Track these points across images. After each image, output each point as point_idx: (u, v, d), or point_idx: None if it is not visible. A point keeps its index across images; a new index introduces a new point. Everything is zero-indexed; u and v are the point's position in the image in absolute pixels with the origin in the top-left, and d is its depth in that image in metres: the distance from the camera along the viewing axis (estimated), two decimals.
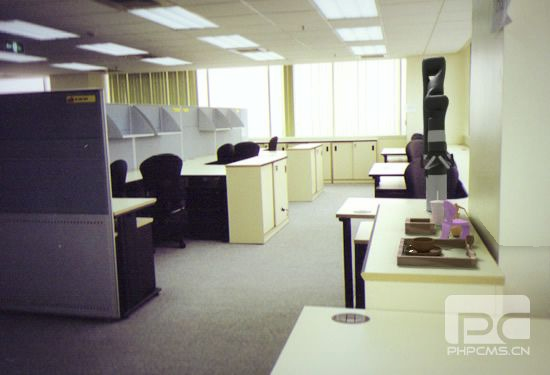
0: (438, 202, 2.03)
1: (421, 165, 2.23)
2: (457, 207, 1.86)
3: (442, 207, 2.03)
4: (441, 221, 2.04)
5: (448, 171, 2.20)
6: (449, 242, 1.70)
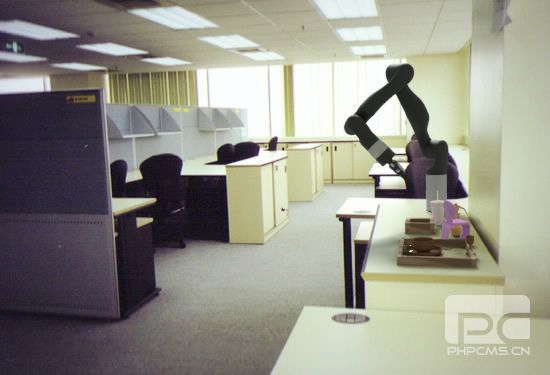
0: (438, 202, 2.03)
1: None
2: (457, 207, 1.86)
3: (442, 207, 2.03)
4: (441, 221, 2.04)
5: (403, 178, 2.03)
6: (449, 242, 1.70)
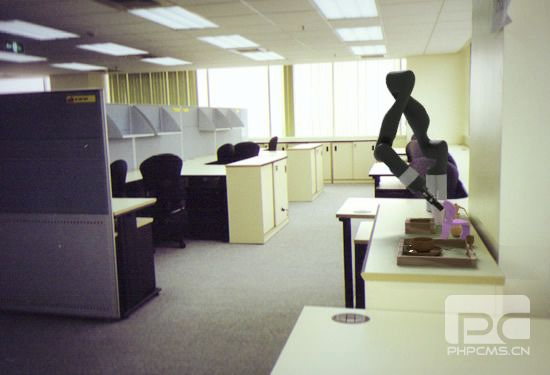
0: None
1: None
2: (457, 207, 1.86)
3: None
4: (441, 221, 2.04)
5: (436, 206, 2.02)
6: (449, 242, 1.70)
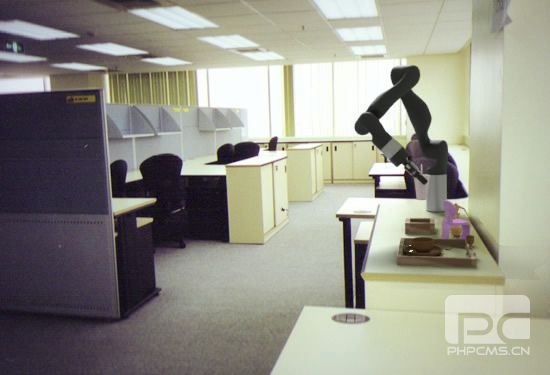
0: (422, 175, 1.93)
1: None
2: (457, 207, 1.86)
3: None
4: (425, 196, 1.95)
5: (420, 180, 1.92)
6: (449, 242, 1.70)
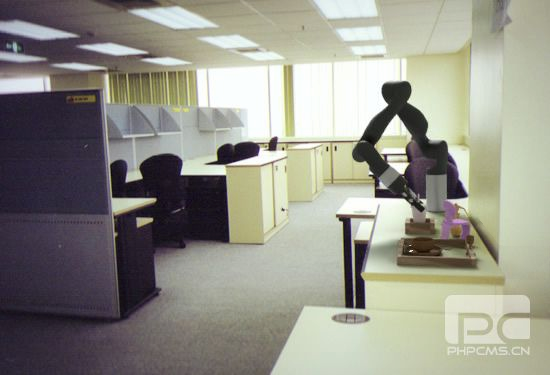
0: None
1: None
2: (457, 207, 1.86)
3: (423, 211, 1.93)
4: None
5: (417, 207, 1.91)
6: (449, 242, 1.70)
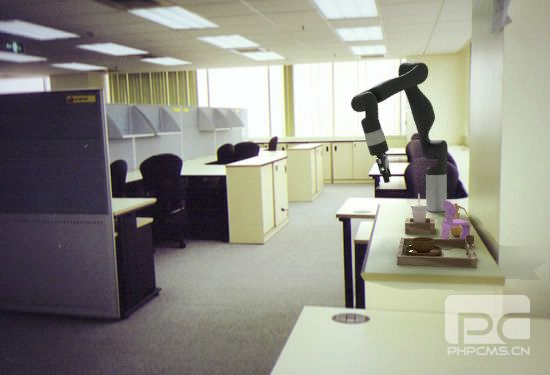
0: None
1: None
2: (457, 207, 1.86)
3: (423, 211, 1.93)
4: None
5: (383, 177, 1.97)
6: (449, 242, 1.70)
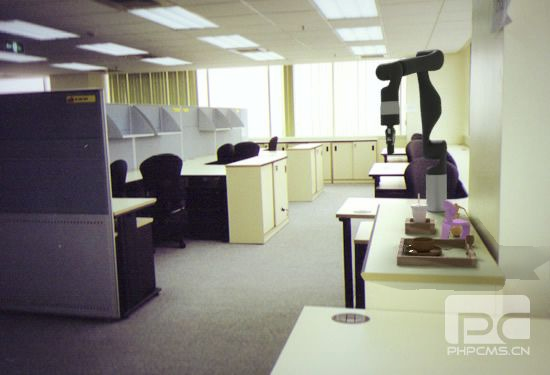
0: None
1: None
2: (457, 207, 1.86)
3: (423, 211, 1.93)
4: None
5: (388, 148, 1.96)
6: (449, 242, 1.70)
